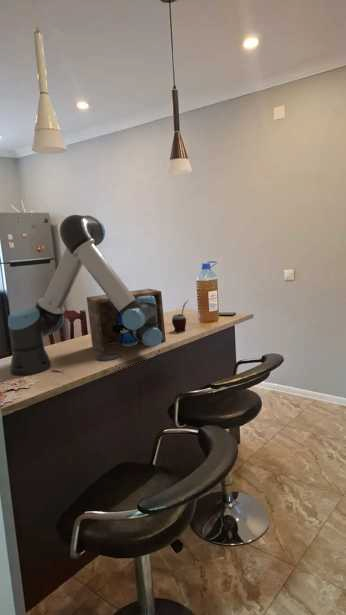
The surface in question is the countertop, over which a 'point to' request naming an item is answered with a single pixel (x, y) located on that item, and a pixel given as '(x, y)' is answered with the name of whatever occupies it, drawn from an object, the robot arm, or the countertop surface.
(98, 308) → the cubby
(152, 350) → the countertop surface
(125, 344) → the beer can
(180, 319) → the mate gourd
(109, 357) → the coaster
